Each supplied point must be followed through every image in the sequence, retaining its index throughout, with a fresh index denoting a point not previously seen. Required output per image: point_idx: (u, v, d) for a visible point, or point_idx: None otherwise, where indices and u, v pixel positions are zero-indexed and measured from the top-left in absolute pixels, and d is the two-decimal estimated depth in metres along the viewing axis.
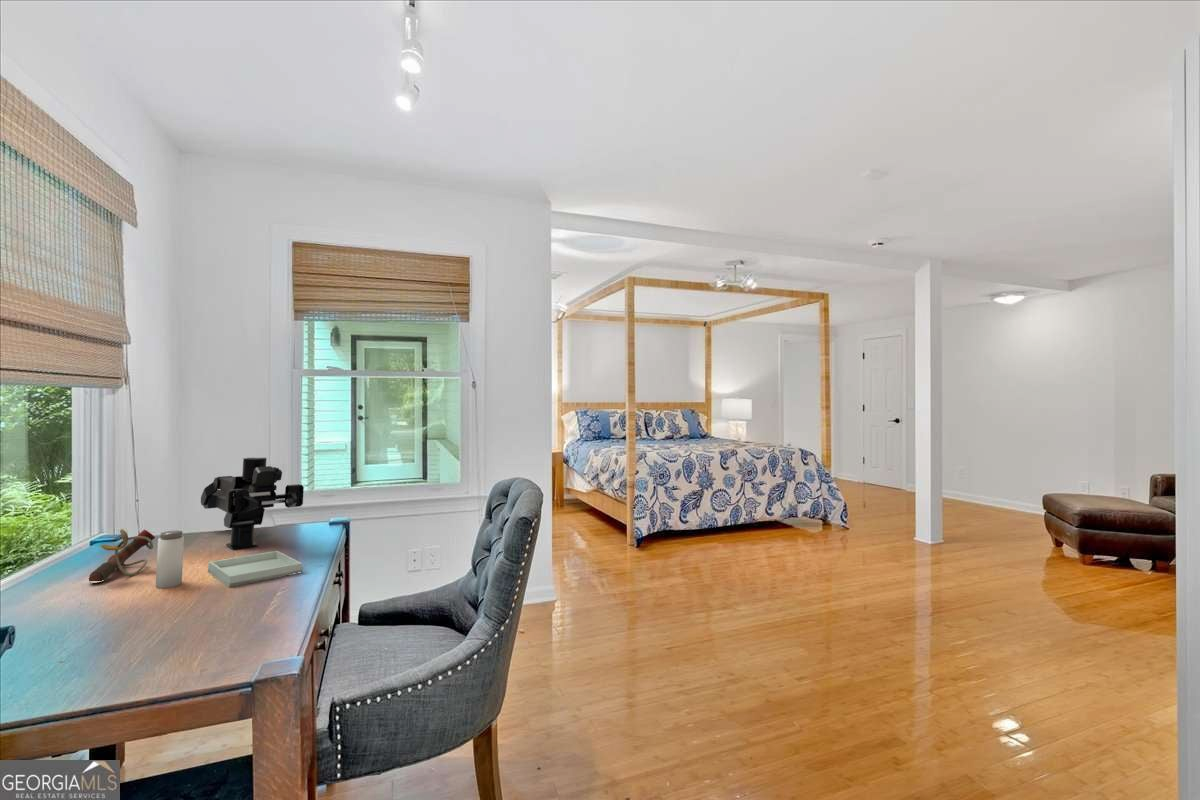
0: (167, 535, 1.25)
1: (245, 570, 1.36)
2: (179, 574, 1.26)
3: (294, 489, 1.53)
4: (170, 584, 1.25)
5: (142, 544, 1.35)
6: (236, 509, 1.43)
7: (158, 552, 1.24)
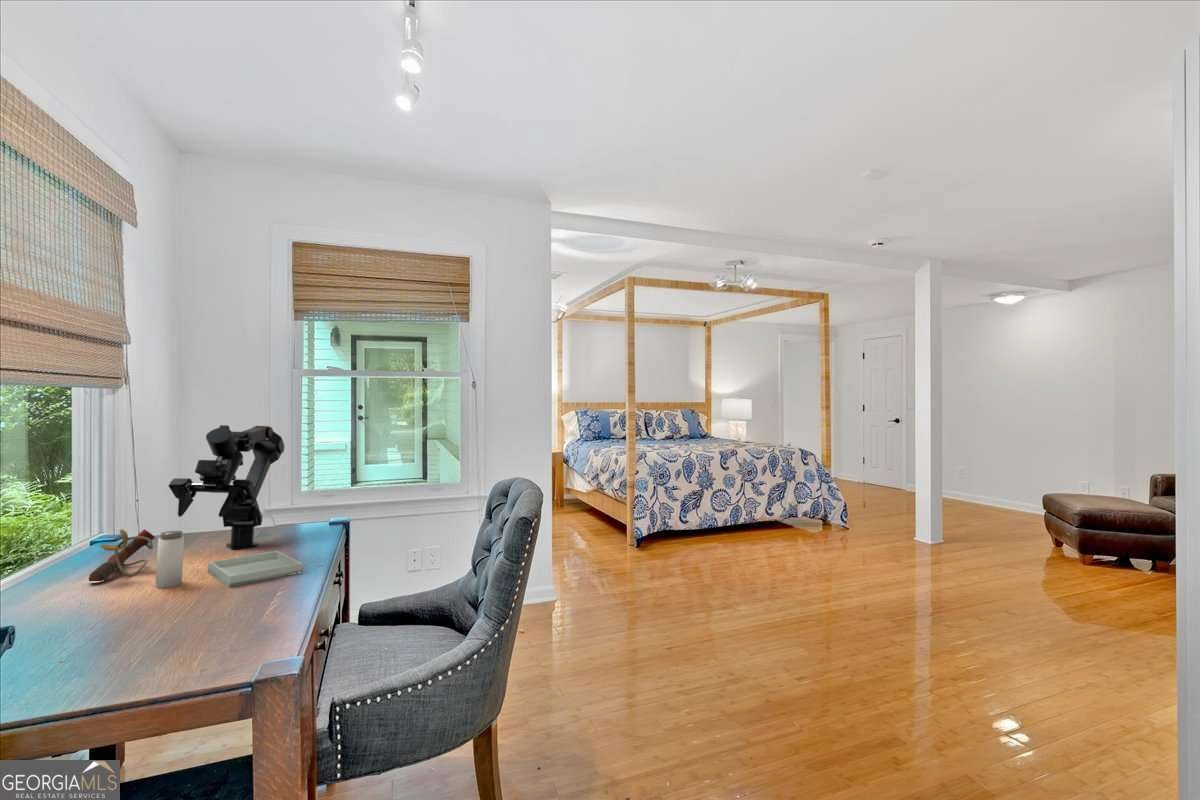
0: (167, 535, 1.25)
1: (245, 570, 1.36)
2: (179, 574, 1.26)
3: (233, 491, 1.40)
4: (170, 584, 1.25)
5: (142, 544, 1.35)
6: None
7: (158, 552, 1.24)
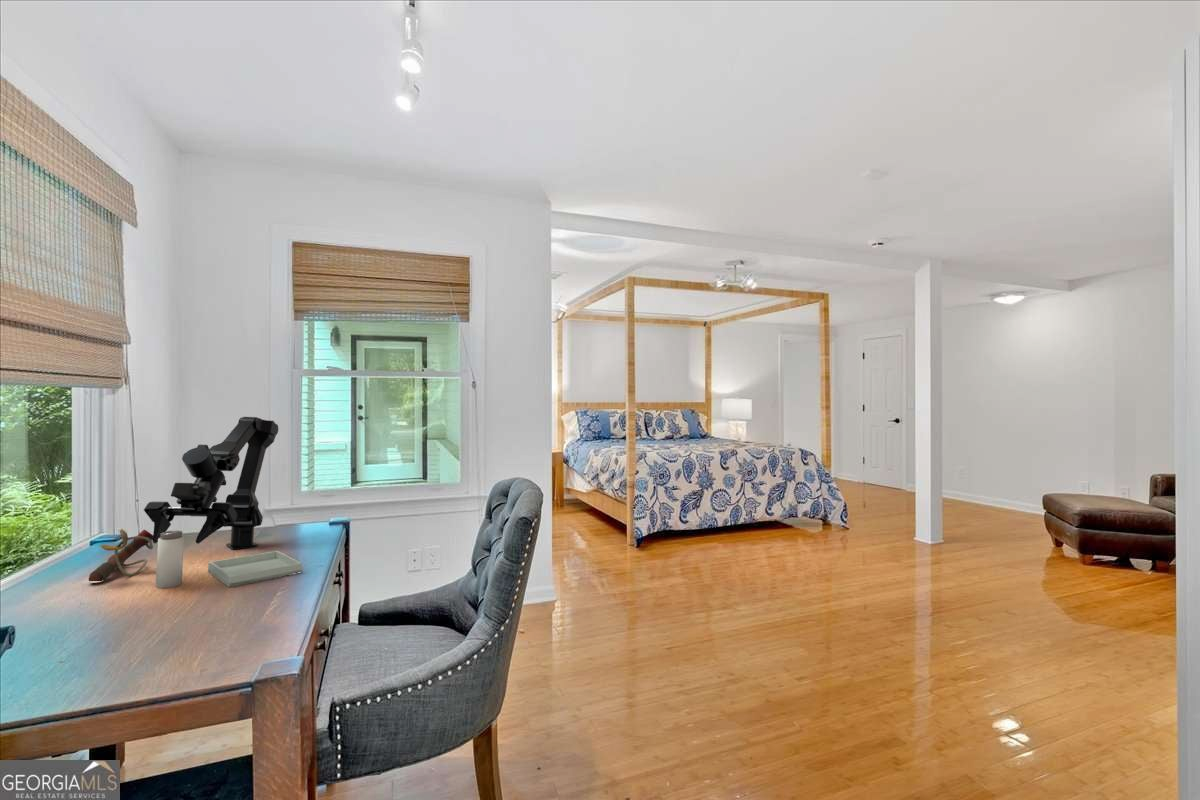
0: (167, 535, 1.25)
1: (245, 570, 1.36)
2: (179, 574, 1.26)
3: (212, 516, 1.32)
4: (170, 584, 1.25)
5: (142, 544, 1.35)
6: None
7: (158, 552, 1.24)
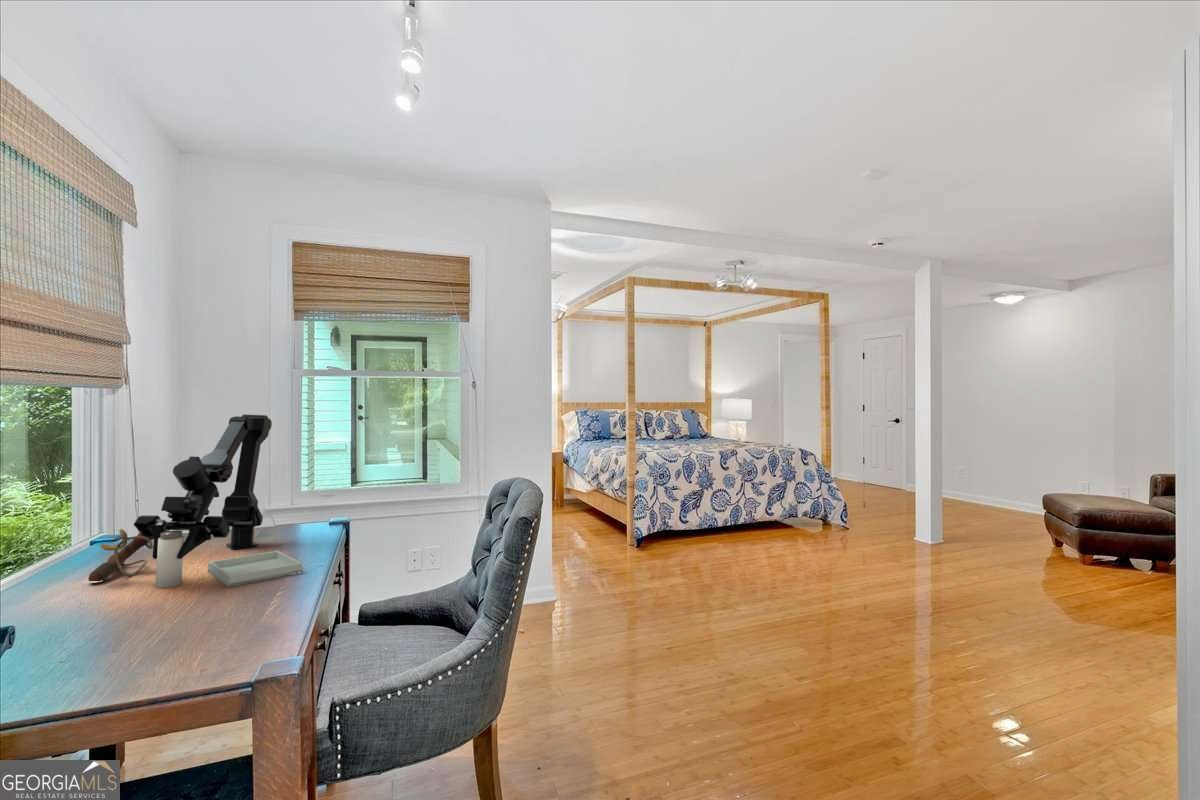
0: (167, 535, 1.25)
1: (245, 570, 1.36)
2: (179, 574, 1.26)
3: (195, 530, 1.28)
4: (170, 584, 1.25)
5: (142, 544, 1.35)
6: None
7: (158, 552, 1.24)
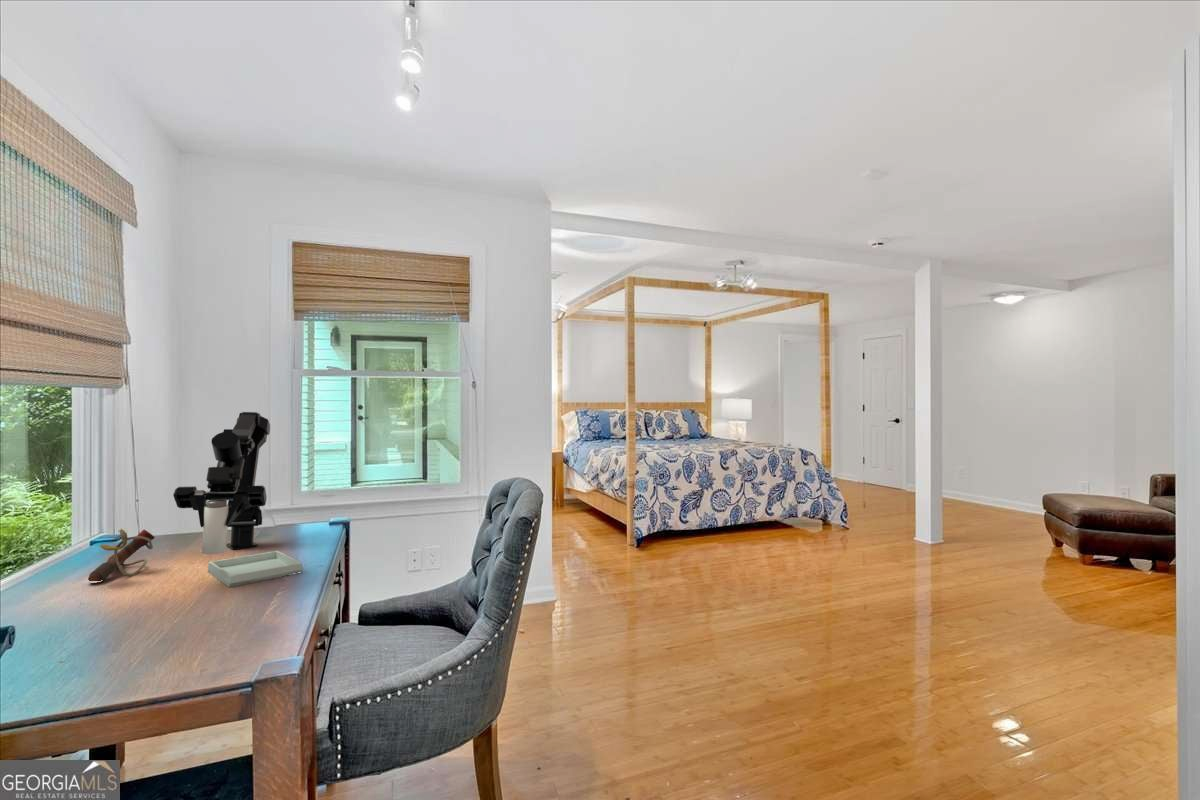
0: (215, 503, 1.30)
1: (245, 570, 1.36)
2: (226, 540, 1.32)
3: (239, 499, 1.34)
4: (219, 550, 1.30)
5: (142, 544, 1.35)
6: (194, 508, 1.33)
7: (206, 520, 1.29)
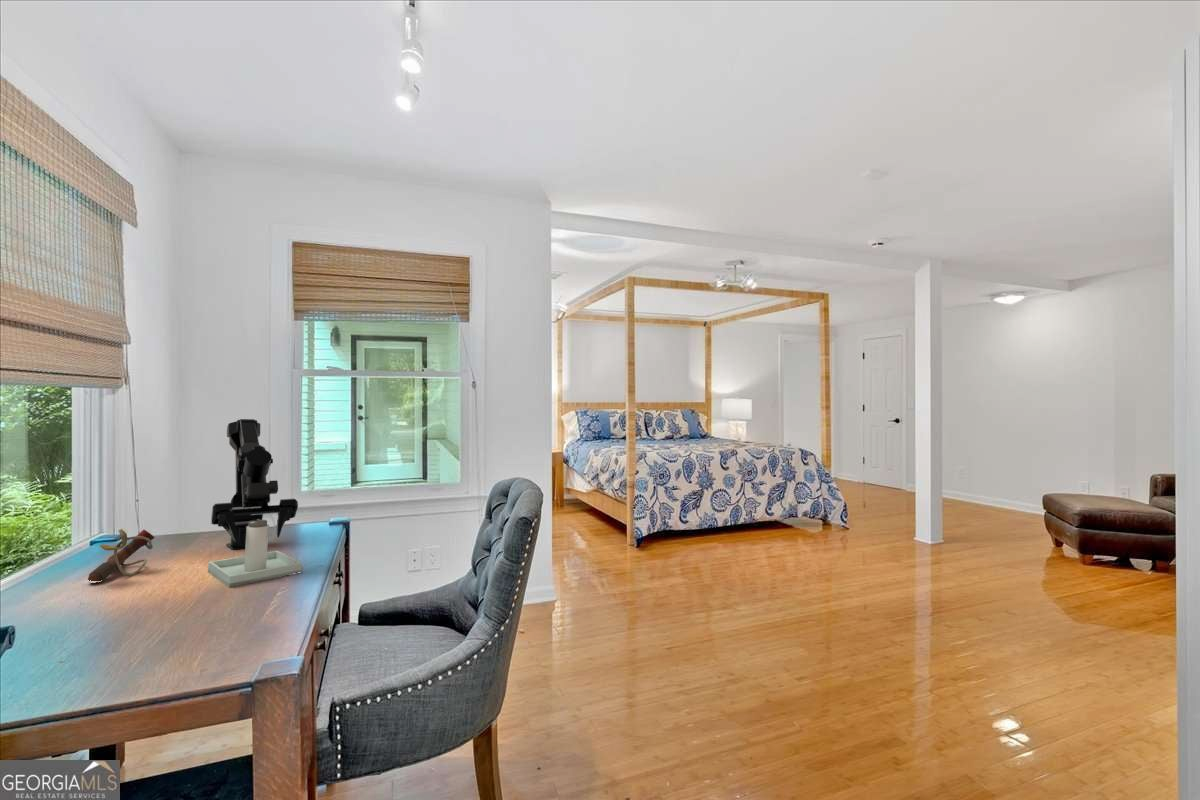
0: (260, 523, 1.37)
1: None
2: (266, 558, 1.39)
3: (285, 511, 1.43)
4: (262, 567, 1.37)
5: (141, 544, 1.35)
6: (220, 524, 1.37)
7: (251, 539, 1.36)
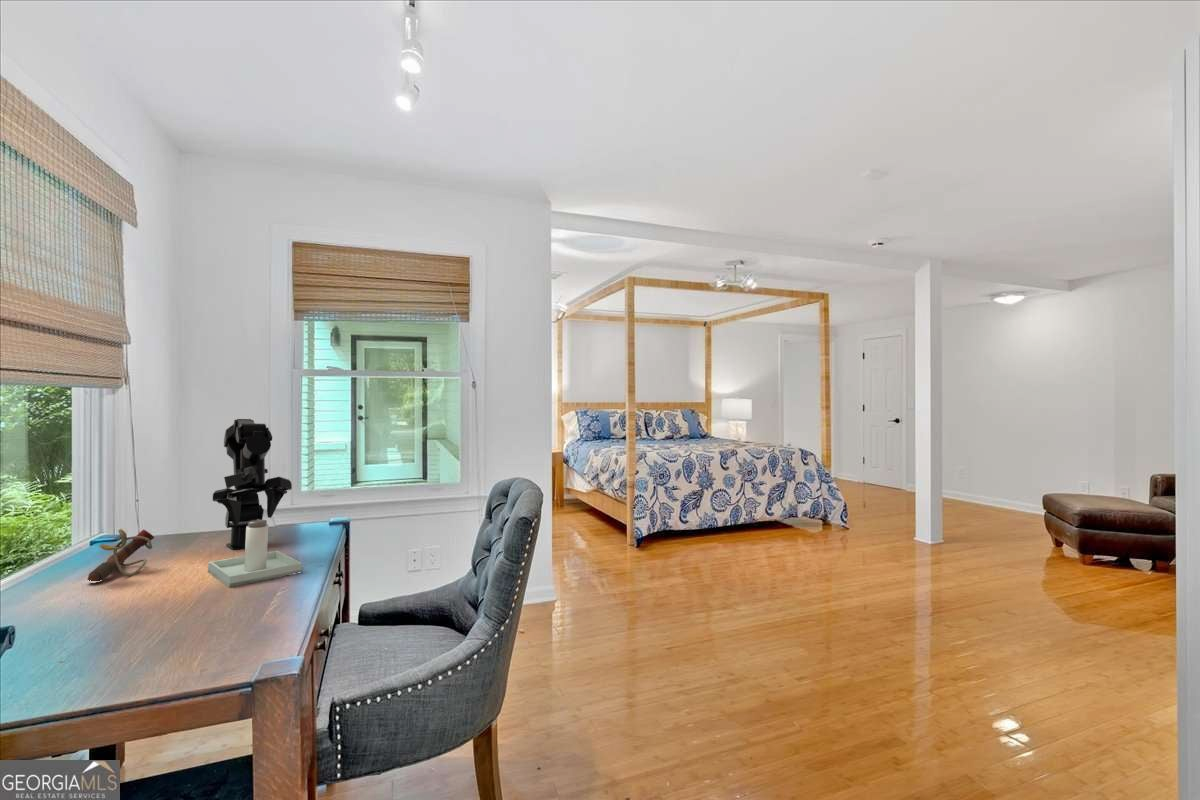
0: (259, 523, 1.36)
1: None
2: (266, 558, 1.39)
3: (270, 493, 1.46)
4: (263, 567, 1.37)
5: (141, 544, 1.35)
6: None
7: (250, 539, 1.35)
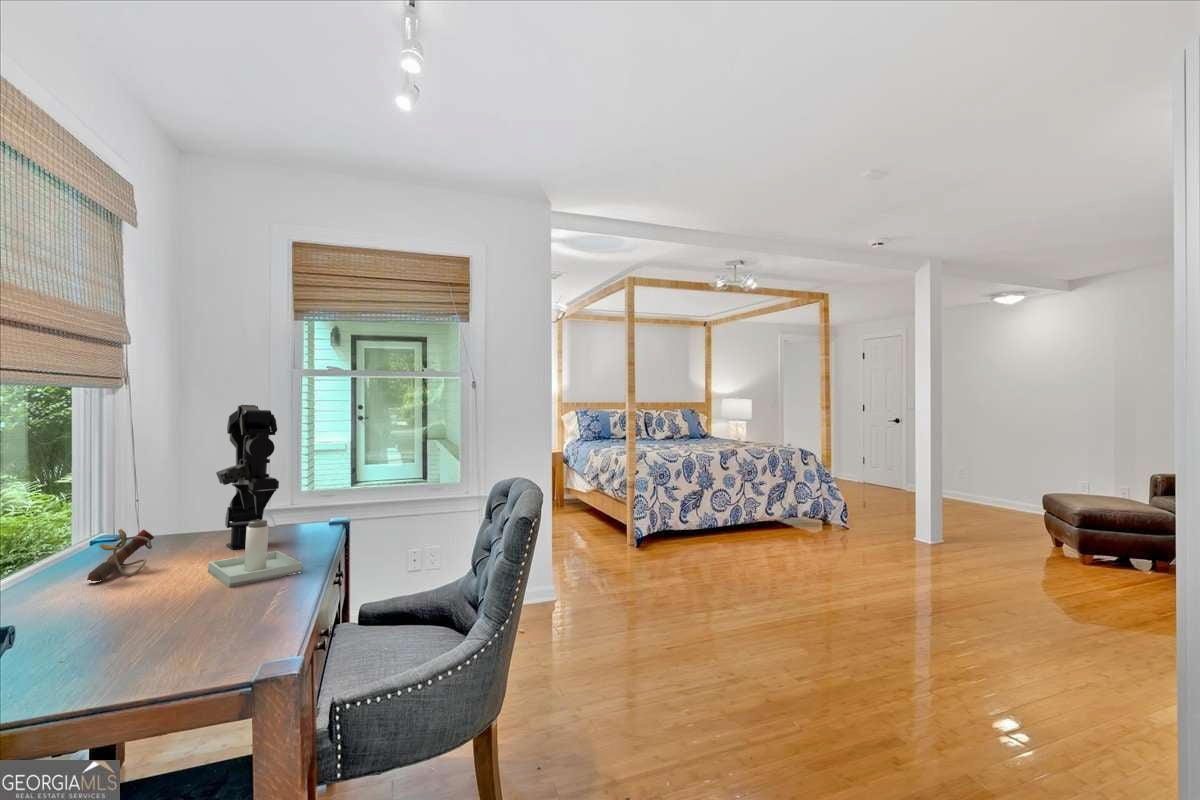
0: (260, 523, 1.37)
1: None
2: (266, 558, 1.39)
3: (252, 494, 1.43)
4: (263, 567, 1.37)
5: (141, 544, 1.35)
6: None
7: (251, 539, 1.35)
